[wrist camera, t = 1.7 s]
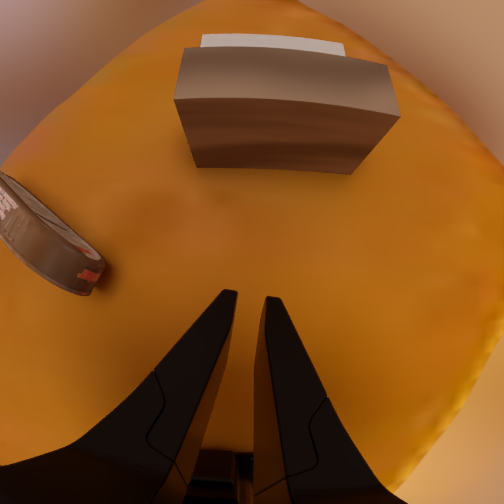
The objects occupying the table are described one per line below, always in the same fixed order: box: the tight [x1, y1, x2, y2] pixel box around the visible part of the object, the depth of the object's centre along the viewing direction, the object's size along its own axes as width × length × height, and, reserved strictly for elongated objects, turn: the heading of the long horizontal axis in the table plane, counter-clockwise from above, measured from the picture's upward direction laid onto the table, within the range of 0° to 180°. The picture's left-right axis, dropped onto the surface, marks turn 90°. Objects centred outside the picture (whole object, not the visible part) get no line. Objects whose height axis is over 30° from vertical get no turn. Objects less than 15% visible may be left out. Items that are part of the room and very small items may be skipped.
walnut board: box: [174, 46, 401, 175], centre depth 18 cm, size 4×12×9 cm, turn 89°
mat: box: [200, 34, 346, 57], centre depth 23 cm, size 10×14×1 cm
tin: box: [0, 171, 106, 296], centre depth 17 cm, size 15×3×8 cm, turn 57°
